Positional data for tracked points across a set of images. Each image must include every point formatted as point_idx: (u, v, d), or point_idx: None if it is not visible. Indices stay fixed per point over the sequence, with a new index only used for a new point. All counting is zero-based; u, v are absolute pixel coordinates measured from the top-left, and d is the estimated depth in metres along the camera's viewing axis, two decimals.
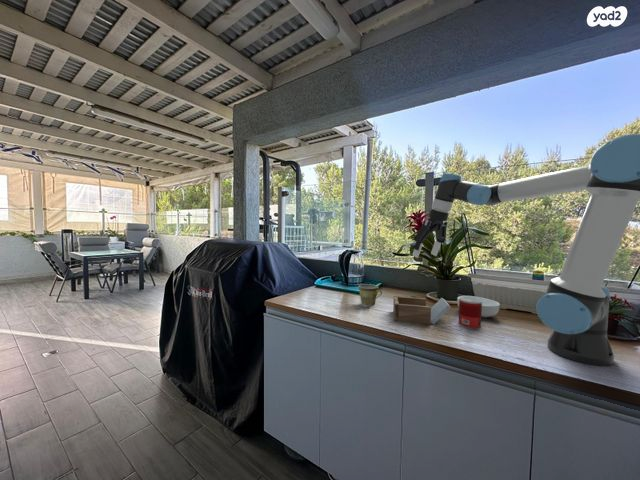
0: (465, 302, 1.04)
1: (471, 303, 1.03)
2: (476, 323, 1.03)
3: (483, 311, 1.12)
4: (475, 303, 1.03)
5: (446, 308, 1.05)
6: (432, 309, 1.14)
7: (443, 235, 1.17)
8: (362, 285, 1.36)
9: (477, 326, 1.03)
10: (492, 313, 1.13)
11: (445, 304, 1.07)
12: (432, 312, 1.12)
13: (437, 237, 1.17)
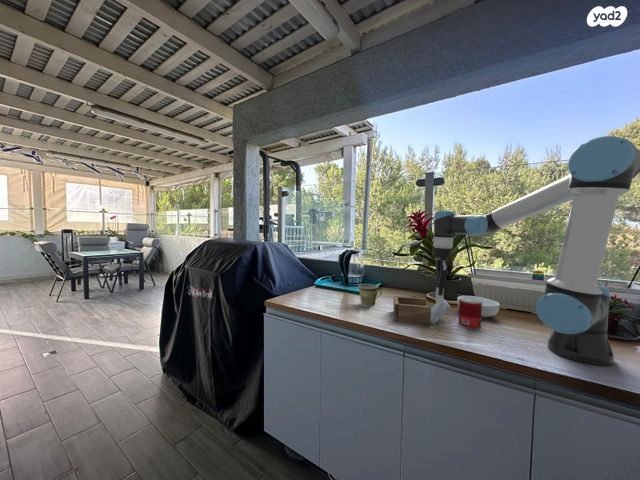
0: (465, 302, 1.04)
1: (471, 303, 1.03)
2: (476, 323, 1.03)
3: (483, 311, 1.12)
4: (475, 303, 1.03)
5: (446, 308, 1.05)
6: (432, 309, 1.14)
7: None
8: (362, 285, 1.36)
9: (477, 326, 1.03)
10: (492, 313, 1.13)
11: (445, 304, 1.07)
12: (432, 312, 1.12)
13: None
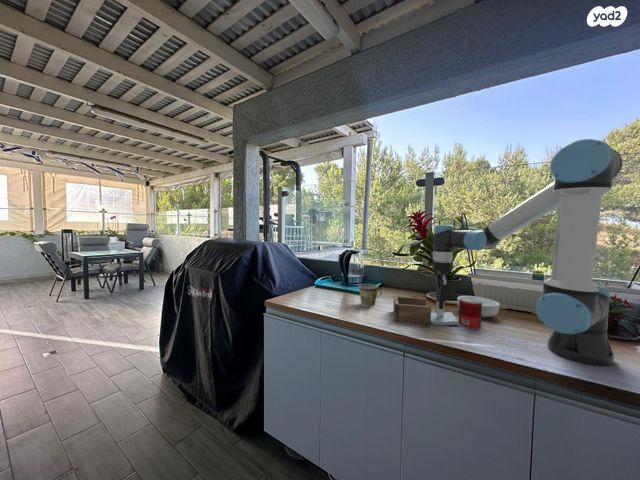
0: (465, 302, 1.04)
1: (471, 303, 1.03)
2: (476, 323, 1.03)
3: (483, 311, 1.12)
4: (475, 303, 1.03)
5: (454, 322, 1.04)
6: None
7: None
8: (362, 285, 1.36)
9: (477, 326, 1.03)
10: (492, 313, 1.13)
11: (454, 319, 1.06)
12: (436, 316, 1.12)
13: None
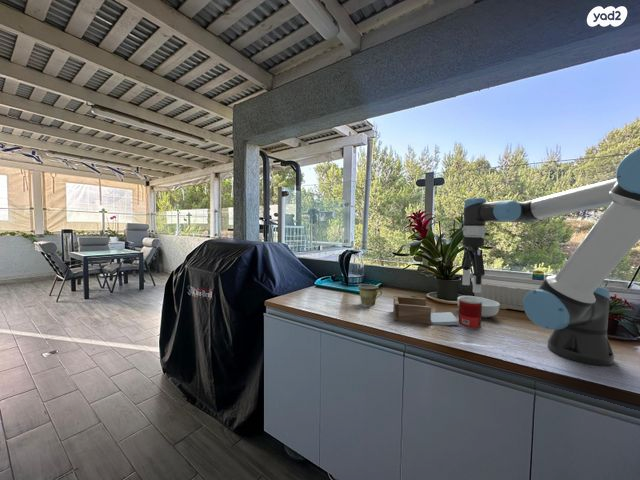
0: (465, 302, 1.04)
1: (471, 303, 1.03)
2: (476, 323, 1.03)
3: (483, 311, 1.12)
4: (475, 303, 1.03)
5: (454, 322, 1.04)
6: (436, 314, 1.14)
7: None
8: (362, 285, 1.36)
9: (477, 326, 1.03)
10: (492, 313, 1.13)
11: (454, 319, 1.06)
12: (436, 316, 1.12)
13: (466, 265, 1.11)
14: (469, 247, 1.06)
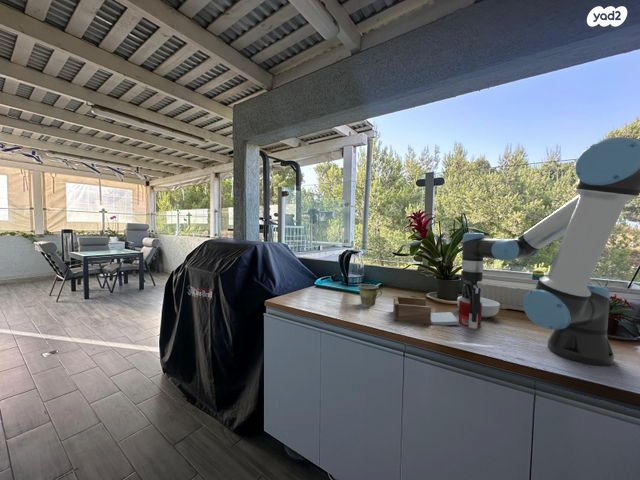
0: (465, 302, 1.04)
1: None
2: None
3: (483, 311, 1.12)
4: None
5: (454, 322, 1.04)
6: (436, 314, 1.14)
7: None
8: (362, 285, 1.36)
9: (477, 326, 1.03)
10: (492, 313, 1.13)
11: (454, 319, 1.06)
12: (436, 316, 1.12)
13: None
14: (467, 281, 1.07)
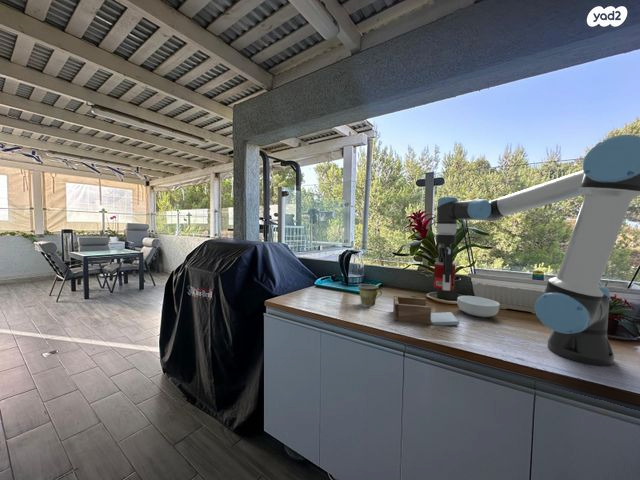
0: (439, 264, 1.07)
1: None
2: (450, 284, 1.06)
3: (483, 311, 1.12)
4: None
5: (454, 322, 1.04)
6: (436, 314, 1.14)
7: None
8: (362, 285, 1.36)
9: (450, 287, 1.06)
10: (492, 313, 1.13)
11: (454, 319, 1.06)
12: (436, 316, 1.12)
13: None
14: (442, 244, 1.10)
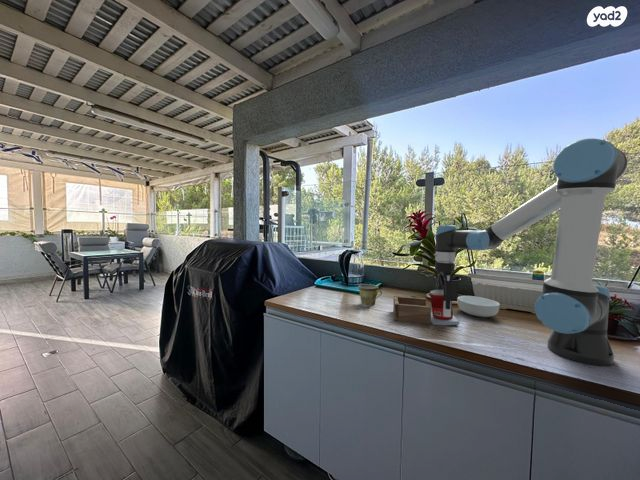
0: (434, 294, 1.08)
1: (440, 295, 1.07)
2: None
3: (483, 311, 1.12)
4: (443, 294, 1.07)
5: (454, 322, 1.04)
6: None
7: None
8: (362, 285, 1.36)
9: None
10: (492, 313, 1.13)
11: (454, 319, 1.06)
12: None
13: (439, 288, 1.16)
14: (441, 272, 1.10)
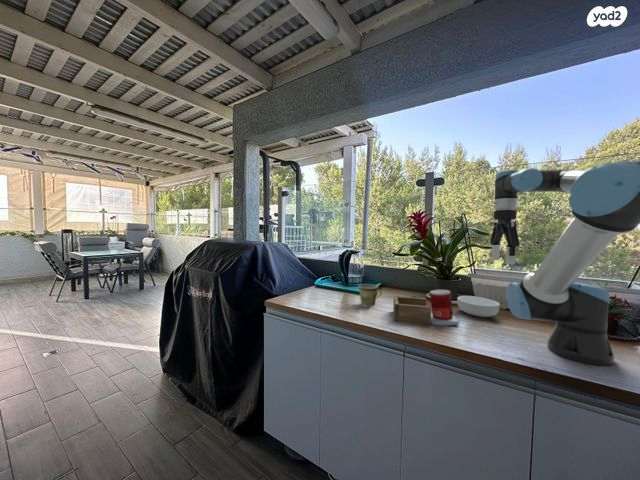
0: (434, 294, 1.08)
1: (440, 295, 1.07)
2: (448, 313, 1.07)
3: (483, 311, 1.12)
4: (443, 294, 1.07)
5: (454, 322, 1.04)
6: None
7: None
8: (362, 285, 1.36)
9: (449, 316, 1.07)
10: (492, 313, 1.13)
11: (454, 319, 1.06)
12: None
13: (496, 240, 1.11)
14: (500, 221, 1.06)
